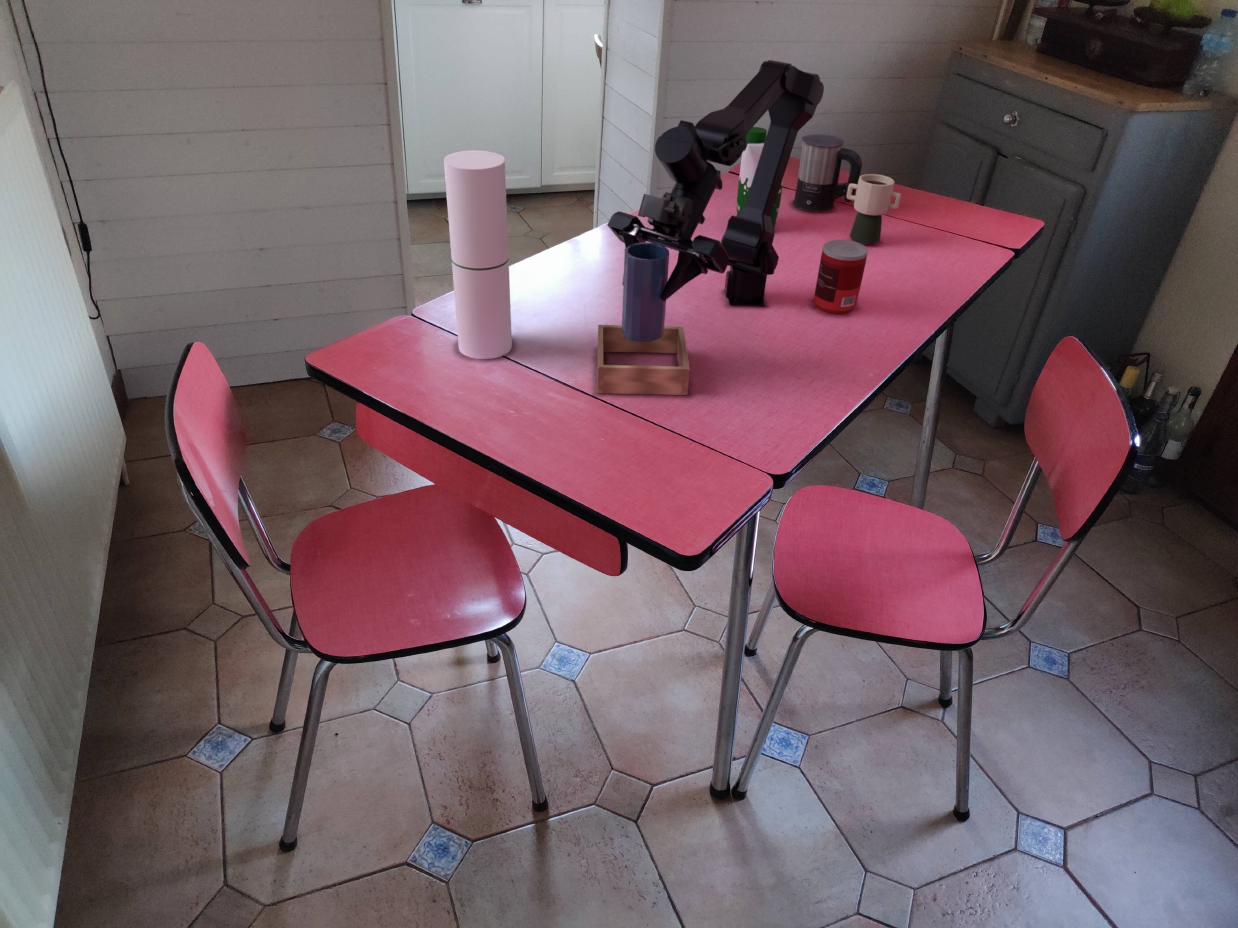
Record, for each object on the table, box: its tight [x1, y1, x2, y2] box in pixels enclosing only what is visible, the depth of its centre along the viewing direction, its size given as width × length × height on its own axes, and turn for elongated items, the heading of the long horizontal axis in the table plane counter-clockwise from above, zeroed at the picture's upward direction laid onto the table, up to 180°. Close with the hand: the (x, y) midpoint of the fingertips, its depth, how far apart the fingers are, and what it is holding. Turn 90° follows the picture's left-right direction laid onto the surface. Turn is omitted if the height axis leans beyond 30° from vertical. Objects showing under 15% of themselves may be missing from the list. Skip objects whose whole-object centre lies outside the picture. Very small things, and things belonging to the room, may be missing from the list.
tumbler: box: [621, 242, 670, 342], centre depth 132 cm, size 6×6×13 cm
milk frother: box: [792, 133, 863, 213], centre depth 200 cm, size 14×16×15 cm
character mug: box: [847, 173, 902, 245], centre depth 182 cm, size 11×7×13 cm, turn 61°
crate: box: [596, 324, 691, 396], centre depth 138 cm, size 14×14×4 cm
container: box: [443, 149, 513, 360], centre depth 135 cm, size 9×9×30 cm
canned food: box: [813, 239, 869, 316], centre depth 157 cm, size 8×8×11 cm
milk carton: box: [736, 126, 785, 230], centre depth 185 cm, size 9×9×20 cm
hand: (643, 293), depth 131 cm, fingers closed on tumbler, 6 cm apart
